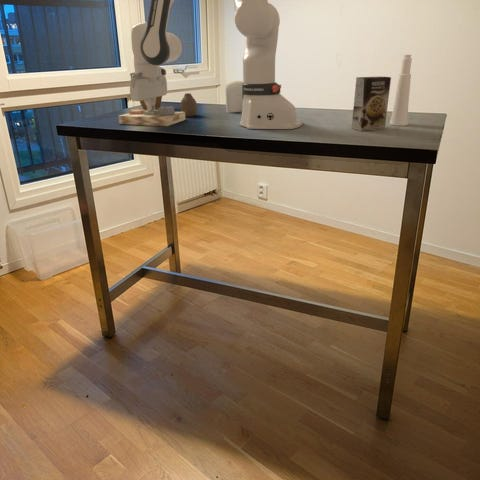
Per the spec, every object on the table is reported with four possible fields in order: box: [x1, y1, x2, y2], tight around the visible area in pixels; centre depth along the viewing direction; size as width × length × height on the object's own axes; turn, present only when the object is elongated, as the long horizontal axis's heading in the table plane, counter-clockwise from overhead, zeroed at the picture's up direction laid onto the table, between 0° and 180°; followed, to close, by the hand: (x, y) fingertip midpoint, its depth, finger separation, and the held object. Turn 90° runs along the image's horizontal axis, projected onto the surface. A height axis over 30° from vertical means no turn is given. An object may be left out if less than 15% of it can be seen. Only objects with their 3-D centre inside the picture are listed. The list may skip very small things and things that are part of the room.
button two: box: [157, 105, 176, 116], centre depth 161 cm, size 4×4×3 cm
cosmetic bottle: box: [389, 54, 413, 127], centre depth 142 cm, size 6×6×22 cm
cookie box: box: [351, 76, 392, 132], centre depth 138 cm, size 9×6×16 cm
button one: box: [129, 109, 147, 115], centre depth 166 cm, size 4×4×3 cm
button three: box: [144, 109, 158, 115], centre depth 164 cm, size 4×4×3 cm
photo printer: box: [225, 80, 243, 114], centre depth 179 cm, size 10×4×12 cm, turn 109°
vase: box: [180, 92, 198, 118], centre depth 174 cm, size 7×7×9 cm
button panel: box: [118, 111, 186, 127], centre depth 164 cm, size 21×14×3 cm, turn 68°
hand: (151, 110), depth 163 cm, fingers closed, pressing on button three
